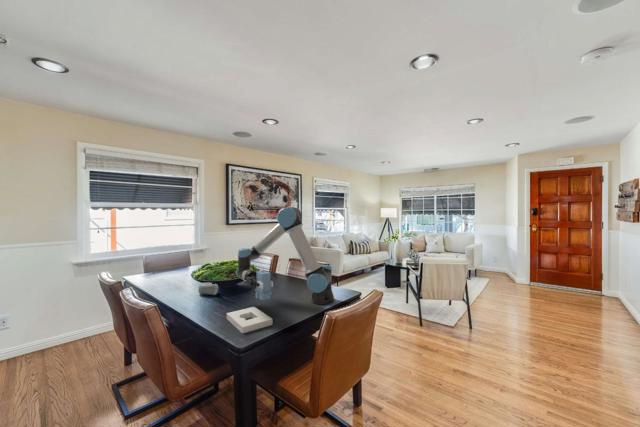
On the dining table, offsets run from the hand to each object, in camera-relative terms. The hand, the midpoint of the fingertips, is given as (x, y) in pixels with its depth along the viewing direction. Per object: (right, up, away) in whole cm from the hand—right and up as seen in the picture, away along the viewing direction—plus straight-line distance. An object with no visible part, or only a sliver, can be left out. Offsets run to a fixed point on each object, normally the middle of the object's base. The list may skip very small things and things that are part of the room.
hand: (267, 285), depth 144 cm
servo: (-3, -8, +4) cm, 10 cm away
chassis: (-9, -19, -2) cm, 21 cm away
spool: (-49, -18, +43) cm, 68 cm away
